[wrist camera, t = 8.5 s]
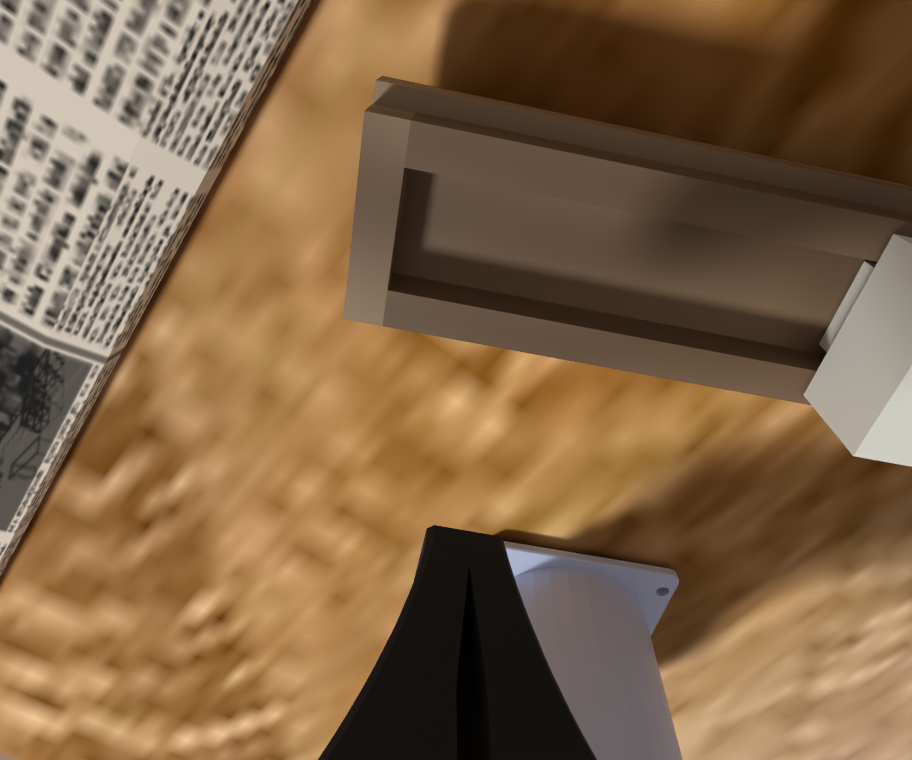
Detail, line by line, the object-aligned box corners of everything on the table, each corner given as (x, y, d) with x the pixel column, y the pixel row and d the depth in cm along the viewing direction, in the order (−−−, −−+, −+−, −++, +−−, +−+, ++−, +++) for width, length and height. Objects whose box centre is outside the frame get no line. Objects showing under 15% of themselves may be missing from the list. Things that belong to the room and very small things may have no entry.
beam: (1176, 432, 21) (1315, 518, 18) (367, 280, 20) (341, 339, 16) (1340, 261, 18) (1549, 324, 15) (393, 64, 17) (367, 79, 13)
